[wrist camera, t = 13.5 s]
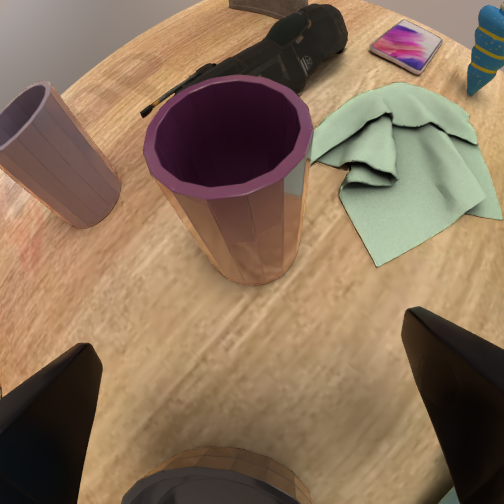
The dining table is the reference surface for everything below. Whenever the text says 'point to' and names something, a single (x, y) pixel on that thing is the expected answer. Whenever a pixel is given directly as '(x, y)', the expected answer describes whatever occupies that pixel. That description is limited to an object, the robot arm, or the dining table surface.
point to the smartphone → (407, 46)
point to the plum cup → (236, 171)
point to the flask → (270, 6)
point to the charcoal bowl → (219, 480)
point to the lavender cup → (56, 157)
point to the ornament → (486, 48)
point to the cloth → (405, 166)
